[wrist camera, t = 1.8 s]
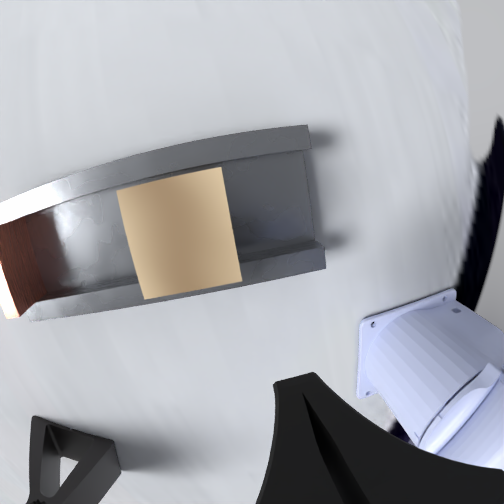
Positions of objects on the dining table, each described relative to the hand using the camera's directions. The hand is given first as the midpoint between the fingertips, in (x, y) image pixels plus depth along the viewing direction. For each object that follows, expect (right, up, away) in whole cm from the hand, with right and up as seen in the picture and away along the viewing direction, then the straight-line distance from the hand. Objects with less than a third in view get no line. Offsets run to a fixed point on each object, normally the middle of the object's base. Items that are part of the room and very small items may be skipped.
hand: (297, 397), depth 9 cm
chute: (-7, +6, +7) cm, 12 cm away
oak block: (-5, +6, +6) cm, 10 cm away
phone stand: (-19, -15, +12) cm, 26 cm away
